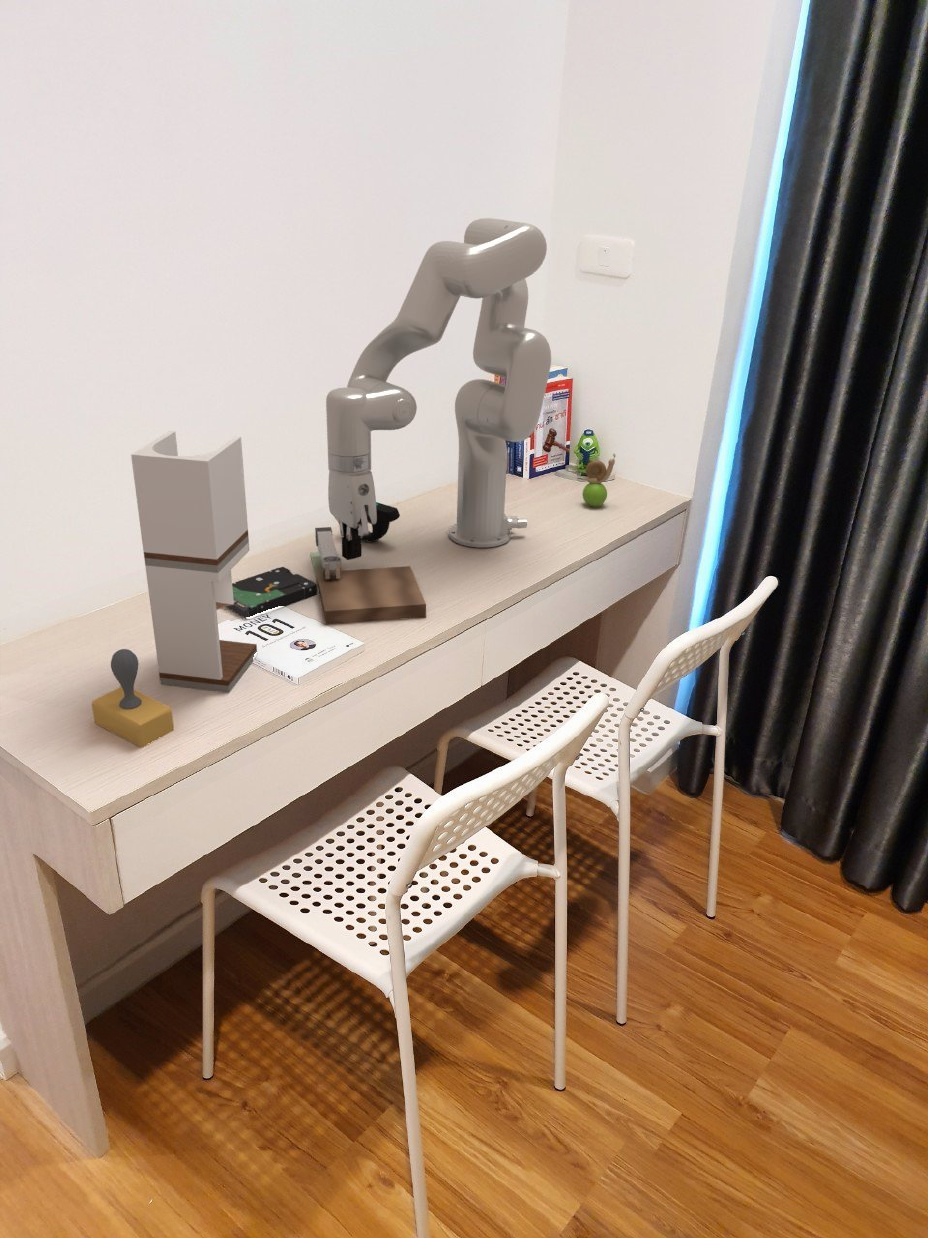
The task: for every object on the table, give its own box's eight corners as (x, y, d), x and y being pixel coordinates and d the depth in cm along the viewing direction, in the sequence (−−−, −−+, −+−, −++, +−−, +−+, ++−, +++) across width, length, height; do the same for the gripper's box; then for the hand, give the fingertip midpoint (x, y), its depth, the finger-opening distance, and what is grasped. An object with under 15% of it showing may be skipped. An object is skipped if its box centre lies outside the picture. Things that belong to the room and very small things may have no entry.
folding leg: (342, 578, 171) (341, 562, 170) (323, 579, 171) (323, 563, 169) (332, 541, 186) (331, 526, 185) (315, 542, 186) (314, 527, 184)
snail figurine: (611, 510, 215) (617, 457, 209) (582, 509, 215) (587, 456, 209) (608, 502, 219) (614, 450, 214) (580, 501, 219) (585, 449, 214)
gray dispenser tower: (229, 692, 142) (207, 461, 126) (160, 684, 143) (131, 454, 128) (257, 655, 152) (241, 436, 136) (193, 648, 154) (169, 430, 138)
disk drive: (282, 579, 179) (213, 603, 169) (281, 565, 178) (212, 588, 168) (318, 597, 173) (249, 622, 163) (318, 583, 171) (248, 607, 162)
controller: (354, 530, 200) (353, 484, 195) (402, 545, 194) (402, 497, 189) (340, 536, 196) (339, 489, 192) (389, 551, 190) (389, 503, 186)
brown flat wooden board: (397, 549, 192) (397, 537, 190) (425, 617, 166) (426, 604, 164) (310, 554, 188) (310, 542, 187) (325, 624, 162) (324, 611, 161)
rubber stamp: (93, 724, 134) (80, 647, 128) (128, 706, 138) (117, 631, 133) (141, 749, 129) (129, 670, 124) (175, 729, 133) (166, 653, 128)
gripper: (390, 469, 167) (390, 567, 175) (347, 446, 178) (350, 539, 186) (351, 476, 163) (354, 576, 171) (310, 452, 174) (314, 547, 182)
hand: (352, 556), depth 179 cm, fingers closed
